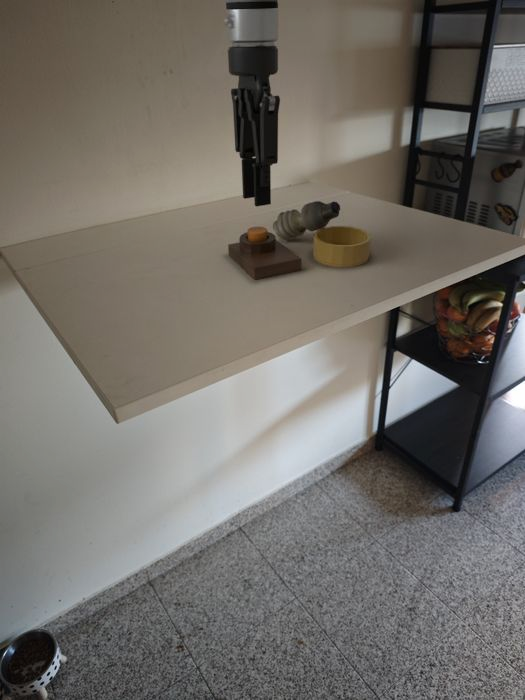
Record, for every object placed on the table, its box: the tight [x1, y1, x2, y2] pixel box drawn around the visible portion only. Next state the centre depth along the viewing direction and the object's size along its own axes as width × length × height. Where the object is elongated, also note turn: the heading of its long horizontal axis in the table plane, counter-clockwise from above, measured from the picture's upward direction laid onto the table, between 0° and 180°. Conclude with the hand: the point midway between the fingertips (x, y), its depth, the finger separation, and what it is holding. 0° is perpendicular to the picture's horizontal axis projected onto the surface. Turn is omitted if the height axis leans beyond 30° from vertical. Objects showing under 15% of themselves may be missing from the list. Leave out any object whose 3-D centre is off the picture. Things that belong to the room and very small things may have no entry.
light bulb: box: [272, 200, 341, 241], centre depth 95 cm, size 6×6×15 cm
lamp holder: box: [312, 225, 372, 268], centre depth 92 cm, size 10×10×4 cm
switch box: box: [227, 231, 302, 281], centre depth 90 cm, size 12×9×4 cm
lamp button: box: [246, 226, 268, 241], centre depth 90 cm, size 4×4×2 cm
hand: (256, 200), depth 87 cm, fingers open, 4 cm apart
